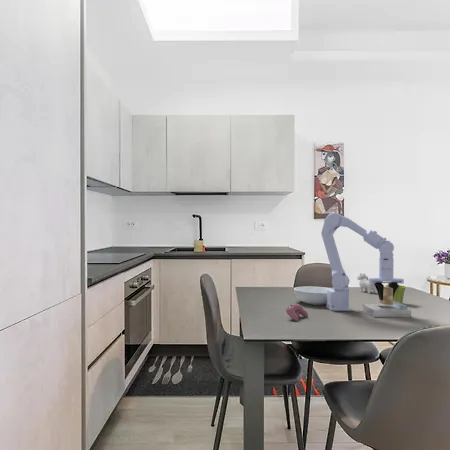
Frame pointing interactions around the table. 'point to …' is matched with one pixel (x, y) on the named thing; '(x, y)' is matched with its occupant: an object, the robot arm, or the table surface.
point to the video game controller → (296, 311)
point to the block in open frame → (387, 310)
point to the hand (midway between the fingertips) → (386, 299)
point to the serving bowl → (312, 294)
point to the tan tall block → (387, 296)
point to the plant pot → (399, 293)
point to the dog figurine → (365, 283)
